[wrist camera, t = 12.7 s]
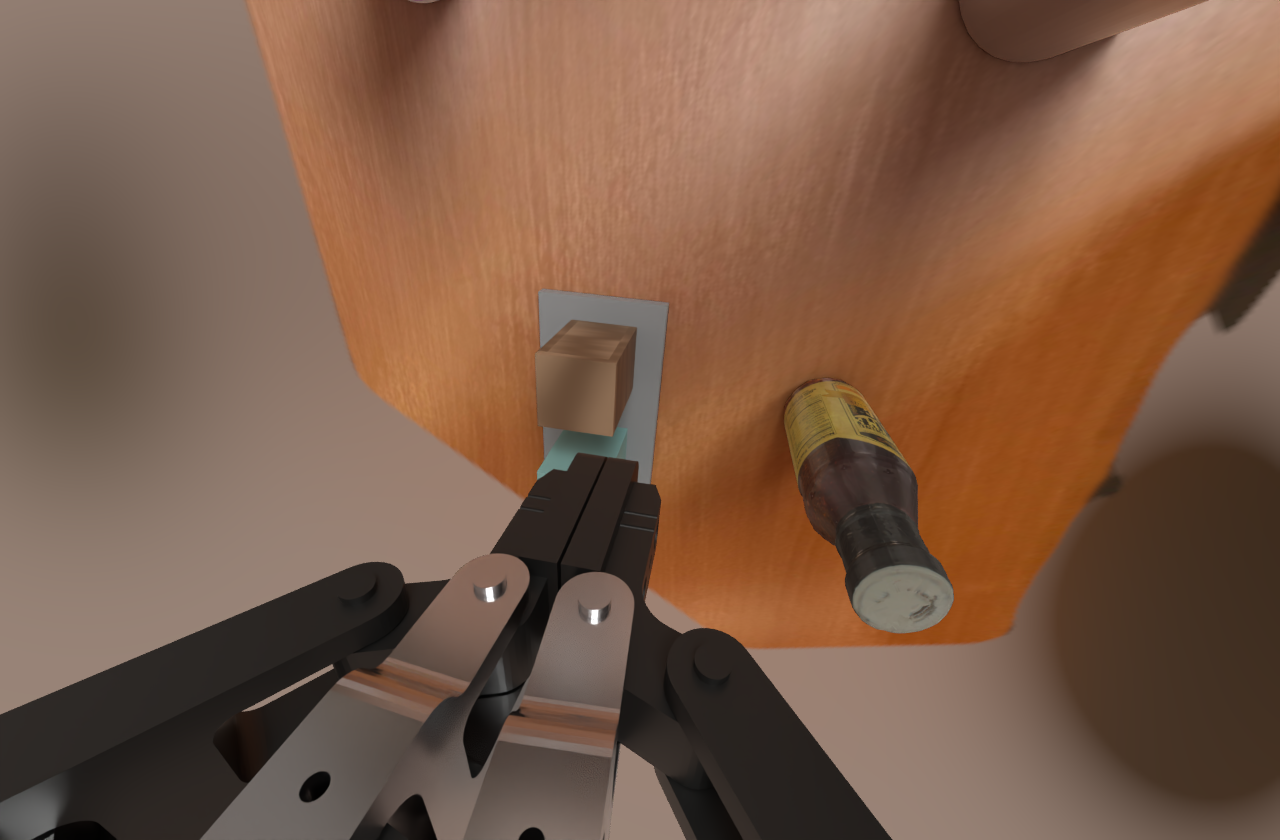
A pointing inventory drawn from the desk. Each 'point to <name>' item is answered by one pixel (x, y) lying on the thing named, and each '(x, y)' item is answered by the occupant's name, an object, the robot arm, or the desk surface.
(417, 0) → the supplement bottle
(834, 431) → the sauce bottle
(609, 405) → the tall brown pillar
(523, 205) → the desk surface
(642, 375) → the stand
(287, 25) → the desk surface
